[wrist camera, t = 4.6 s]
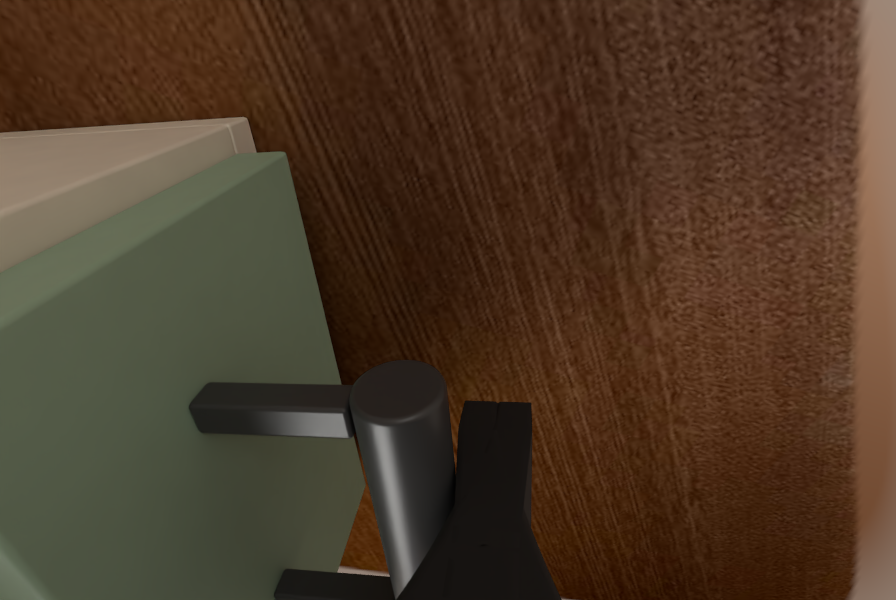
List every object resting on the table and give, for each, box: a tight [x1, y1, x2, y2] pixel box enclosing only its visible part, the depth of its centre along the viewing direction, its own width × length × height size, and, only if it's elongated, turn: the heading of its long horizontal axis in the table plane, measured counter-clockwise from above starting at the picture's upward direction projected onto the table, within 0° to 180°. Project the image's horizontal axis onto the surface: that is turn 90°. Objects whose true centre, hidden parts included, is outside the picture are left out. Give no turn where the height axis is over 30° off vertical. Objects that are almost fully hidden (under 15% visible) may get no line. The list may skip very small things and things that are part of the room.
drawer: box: [0, 151, 456, 600], centre depth 10 cm, size 16×11×8 cm, turn 95°
